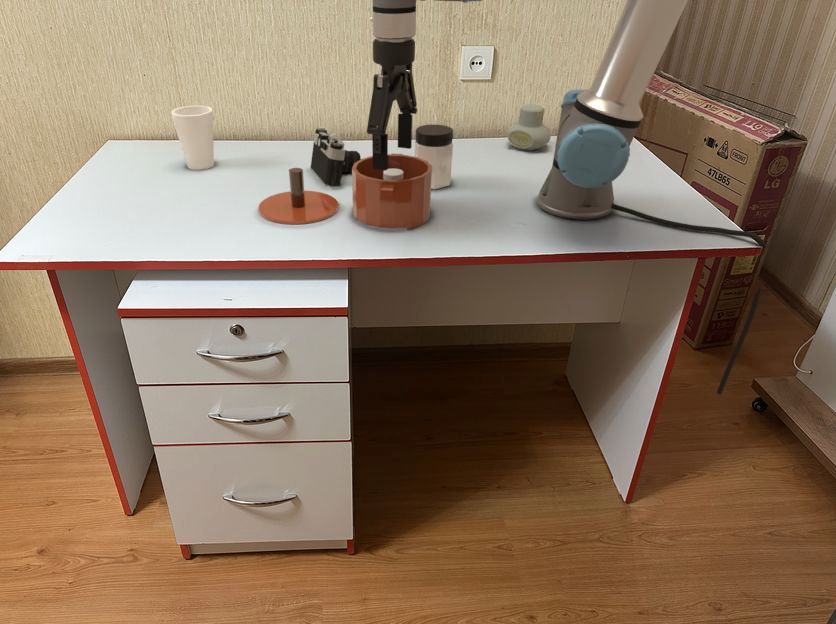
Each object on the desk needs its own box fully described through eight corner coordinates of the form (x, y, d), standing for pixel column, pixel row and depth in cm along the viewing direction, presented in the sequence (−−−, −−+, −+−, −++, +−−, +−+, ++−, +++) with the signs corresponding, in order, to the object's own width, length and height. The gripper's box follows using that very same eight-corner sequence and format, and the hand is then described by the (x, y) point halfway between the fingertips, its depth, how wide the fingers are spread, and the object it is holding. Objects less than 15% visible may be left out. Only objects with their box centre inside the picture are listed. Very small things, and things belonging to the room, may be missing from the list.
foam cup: (226, 166, 155) (218, 112, 148) (190, 174, 151) (180, 118, 143) (211, 156, 162) (202, 103, 154) (176, 163, 157) (165, 109, 150)
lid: (344, 197, 139) (343, 157, 134) (331, 229, 125) (329, 186, 120) (270, 194, 140) (266, 155, 135) (249, 225, 127) (244, 183, 122)
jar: (427, 192, 141) (429, 137, 134) (405, 181, 146) (407, 128, 139) (458, 184, 145) (462, 130, 138) (436, 173, 150) (439, 121, 143)
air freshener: (553, 147, 166) (560, 107, 160) (538, 155, 161) (544, 114, 155) (517, 139, 172) (522, 100, 166) (500, 146, 167) (505, 107, 161)
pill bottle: (387, 217, 128) (387, 177, 124) (377, 209, 132) (377, 169, 127) (408, 213, 130) (409, 173, 125) (398, 205, 133) (398, 166, 129)
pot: (431, 197, 138) (434, 151, 133) (426, 238, 121) (429, 188, 116) (361, 194, 140) (360, 149, 134) (346, 234, 123) (344, 184, 117)
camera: (366, 189, 146) (374, 146, 141) (321, 187, 142) (328, 142, 136) (346, 169, 157) (353, 128, 152) (304, 166, 153) (309, 123, 148)
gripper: (398, 26, 122) (396, 137, 135) (345, 49, 103) (349, 176, 116) (435, 28, 120) (430, 141, 132) (388, 52, 101) (388, 181, 113)
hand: (392, 158), depth 124 cm, fingers open, 13 cm apart
